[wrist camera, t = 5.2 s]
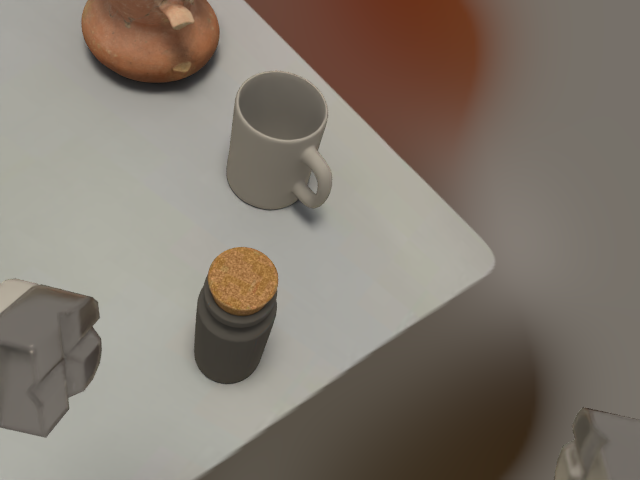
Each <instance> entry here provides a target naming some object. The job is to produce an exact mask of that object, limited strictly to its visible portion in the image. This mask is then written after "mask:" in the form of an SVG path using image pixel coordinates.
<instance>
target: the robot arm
mask: <svg viewBox="0 0 640 480" xmlns="http://www.w3.org/2000/svg"><path fill="white" fill-rule="evenodd" d="M99 318H100V316H99V307H98V302H97V301H96V300H95V299H94V298H93V297H90V296H86V295H82V294H78V293H74V292H70V291H66V290H62V289H58V288H54V287H50V286H46V285H42V284H41V285H39V284H36V283H32V282H28V281H24V280H20V279H8V280H5V281H4V282H3V283H1V284H0V427H1V428H5V429H10V430H14V431H19V432H23V433H28V434H32V435H36V436H41V437H45V438H46V437H47V436H48V434H49V433H50V432H51V431H52V430H53V428H54V427H55V426H56V425H57V423H58V422H59V421H60V420H61V419H62V417H63V416H64V415H65V414H66V412H67V411H68V410H69V402H68V398H69V397H71V396H73V395H76V394H78V393H80V392H82V391H84V390H85V389H86V387H87V386H88V385H89V383H90V382H91V381H92V380H93V378H94V375H95V373H96V371H97V368H98V366H99V364H100V358H101V351H102V347H101V338H100V337H99V335H98V334H97V332H96V331H95V330H94V328H93V327H92V326H93V325H94V324H95V323H96V322H97V320H98V319H99ZM572 428H573V433H574V437H575V440H573V441H571V442H569V443H567V444H566V445H564V446H563V447H562V450H561V452H560V455H559V457H558V460H557V464H556V470H555V476H554V480H640V420H639V419H634V418H630V417H625V416H620V415H616V414H611V413H607V412H603V411H598V410H593V409H589V408H584V407H583V408H582V409H581V410H580V411H579V412H578V414H577V415H576V418H575V420H574V422H573V424H572Z"/></svg>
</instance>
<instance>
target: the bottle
mask: <svg viewBox="0 0 640 480" xmlns="http://www.w3.org/2000/svg"><path fill="white" fill-rule="evenodd" d="M277 286H278V273H277V270H276V268H275V266H274V264H273V263H272V261H271V260H270V259H269V258H268V257H267V256H266V255H264V254H263V253H262V252H260V251H258V250H255V249H252V248H247V247H237V248H232V249H229V250H227V251H224V252H223V253H221V254H220V255H219V256H217V257H216V258H215V260H214V261H213V262H212V264H211V266H210V268H209V272H208V275H207V277H206V280H205V283H204V286H203V288H202V290H201V292H200V294H199V298H198V303H197V313H196V328H195V344H194V353H195V360H196V363H197V365H198V367H199V369H200V370H201V372H202V373H203V374H204V375H205V376H207V377H208V378H209V379H211V380H213V381H216V382H219V383H225V384H229V383H236V382H239V381H242V380H244V379H245V378H247V377H248V376H250V375H251V374H252V373H253V371H254V370H255V369H256V367H257V366H258V364H259V361H260V359H261V356H262V354H263V351H264V348H265V345H266V343H267V340H268V337H269V334H270V332H271V329H272V326H273V323H274V320H275V317H276V310H277V302H276V298H277Z"/></svg>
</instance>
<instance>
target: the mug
mask: <svg viewBox="0 0 640 480" xmlns="http://www.w3.org/2000/svg"><path fill="white" fill-rule="evenodd" d="M327 118H328V108H327V104H326V101H325V99H324V97H323V95H322V93H321V92H320V91H319V90H318V88H316V87H315V86H314V85H313V84H312V83H311V82H309V81H308V80H306V79H304V78H302V77H300V76H298V75H295V74H292V73H289V72H283V71H268V72H263V73H259V74H257V75H254V76H252V77H250V78H249V79H248V80H246V81H245V82H244V83H243V84H242V85H241V87H240V88H239V90H238V92H237V95H236V98H235V106H234V114H233V123H232V131H231V140H230V148H229V155H228V161H227V179H228V182H229V185H230V187H231V189H232V190H233V191H234V193H235V194H236V195H237V196H238V197H239V198H240V199H241V200H243V201H244V202H246V203H248V204H250V205H252V206H255V207H258V208H262V209H280V208H284V207H287V206H289V205H291V204H293V203H294V202H296V201H297V200H298V199H299V200H300V201H301V202H302V203H303V204H304V205H306V206H307V207H309V208H317V207H320V206H321V205H322V204H323V203H324V202H325V201H326V199H327V198H328V196H329V194H330V191H331V187H332V173H331V170H330V168H329V166H328V164H327V162H326V161H325V160H324V158H323V157H322V156H321V155H320V153H319V152H318V148H319V145H320V142H321V139H322V136H323V133H324V130H325V126H326V123H327ZM311 171H313V172H314V174H315V176H316V178H317V182H318V189H317V193H316V194H315V193H314V192H313V191H312V190H311V189H310V188H309V187H308V185H307V184H308V181H309V178H310V174H311Z"/></svg>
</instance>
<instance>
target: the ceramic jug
mask: <svg viewBox="0 0 640 480" xmlns="http://www.w3.org/2000/svg"><path fill="white" fill-rule="evenodd" d="M81 24H82V32H83V36H84V39H85V41H86V44H87V46H88V47H89V49H90V51H91V52H92V53H93V55H94V56H95V57H96V58H97V59H98V60H99V61H100V62H101V63H102V64H103V65H105V66H106V67H108V68H109V69H111V70H113V71H114V72H116V73H117V74H119V75H121V76H124V77H126V78H129V79H132V80H136V81H141V82H150V83H162V82H171V81H176V80H180V79H183V78H186V77H188V76H190V75H192V74H194V73H195V72H197V71H198V70H200V69H201V68H202V67H203V66H204V65H205V64H206V63H207V62H208V61H209V60H210V58H211V57H212V55H213V54H214V52H215V50H216V48H217V45H218V41H219V24H218V20H217V17H216V15H215V13H214V11H213V9H212V7H211V6H210V4H209V3H208V2H207V1H206V0H88V1H87V3H86V5H85V7H84V10H83V14H82V23H81Z"/></svg>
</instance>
